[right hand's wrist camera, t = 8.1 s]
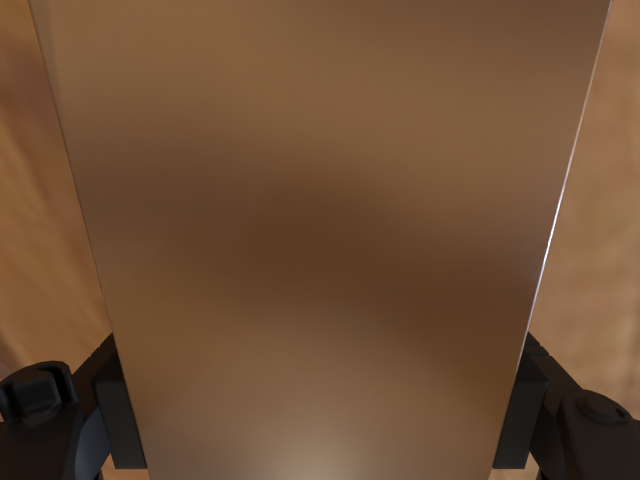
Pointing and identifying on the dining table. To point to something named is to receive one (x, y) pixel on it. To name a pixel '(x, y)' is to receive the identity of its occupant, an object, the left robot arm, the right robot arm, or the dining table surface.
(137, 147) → the long beam
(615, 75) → the dining table surface
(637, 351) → the dining table surface
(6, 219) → the dining table surface
